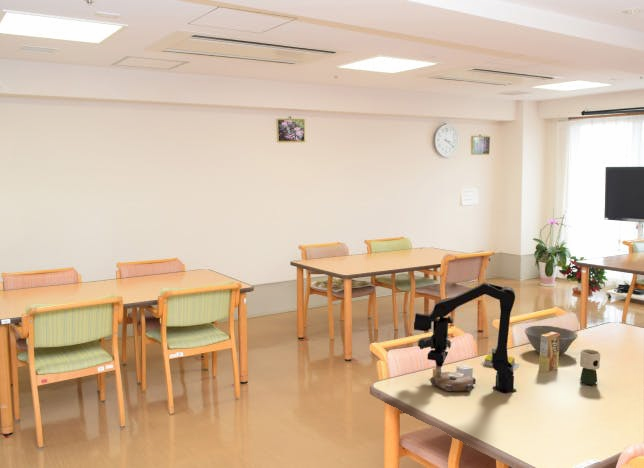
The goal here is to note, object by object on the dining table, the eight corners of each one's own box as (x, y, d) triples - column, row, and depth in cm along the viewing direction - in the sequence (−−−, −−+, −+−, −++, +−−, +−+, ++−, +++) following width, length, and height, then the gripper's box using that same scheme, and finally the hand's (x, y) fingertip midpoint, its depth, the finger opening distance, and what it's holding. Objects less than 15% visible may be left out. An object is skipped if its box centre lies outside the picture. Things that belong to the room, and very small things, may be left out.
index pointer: (441, 377, 246) (441, 369, 245) (436, 378, 245) (436, 370, 244) (437, 375, 248) (437, 367, 248) (432, 376, 247) (432, 368, 247)
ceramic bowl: (513, 349, 286) (514, 328, 285) (549, 343, 296) (550, 323, 295) (548, 363, 266) (550, 341, 265) (586, 356, 276) (588, 335, 275)
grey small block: (472, 377, 247) (472, 368, 247) (462, 379, 245) (462, 369, 245) (466, 374, 251) (466, 365, 250) (456, 376, 249) (456, 366, 248)
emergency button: (485, 350, 271) (520, 355, 264) (485, 359, 271) (519, 365, 264) (480, 355, 263) (516, 361, 256) (480, 365, 263) (515, 371, 256)
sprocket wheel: (484, 386, 234) (484, 371, 234) (455, 394, 225) (456, 379, 225) (450, 373, 248) (451, 359, 248) (422, 381, 239) (423, 366, 238)
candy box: (549, 365, 263) (551, 331, 261) (558, 368, 259) (560, 333, 258) (538, 370, 257) (540, 334, 255) (547, 372, 254) (549, 337, 252)
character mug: (592, 389, 236) (594, 356, 234) (573, 384, 241) (575, 352, 239) (602, 382, 243) (605, 350, 242) (585, 377, 248) (587, 346, 247)
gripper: (424, 323, 250) (423, 359, 252) (415, 337, 233) (413, 375, 235) (452, 326, 246) (450, 363, 249) (444, 340, 229) (442, 380, 231)
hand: (438, 370), depth 241 cm, fingers closed
